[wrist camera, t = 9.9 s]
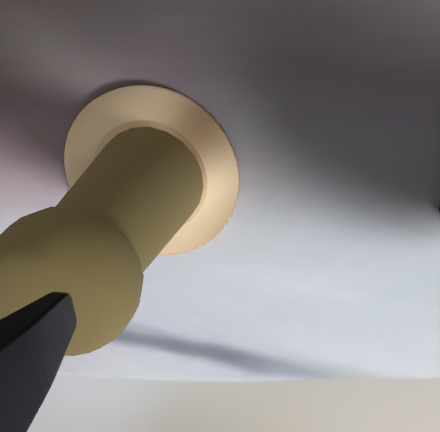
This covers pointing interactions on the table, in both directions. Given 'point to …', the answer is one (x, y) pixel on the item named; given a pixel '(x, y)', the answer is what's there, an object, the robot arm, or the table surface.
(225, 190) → the trivet
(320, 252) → the table surface
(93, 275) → the pepper shaker
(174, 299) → the table surface
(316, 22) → the table surface
